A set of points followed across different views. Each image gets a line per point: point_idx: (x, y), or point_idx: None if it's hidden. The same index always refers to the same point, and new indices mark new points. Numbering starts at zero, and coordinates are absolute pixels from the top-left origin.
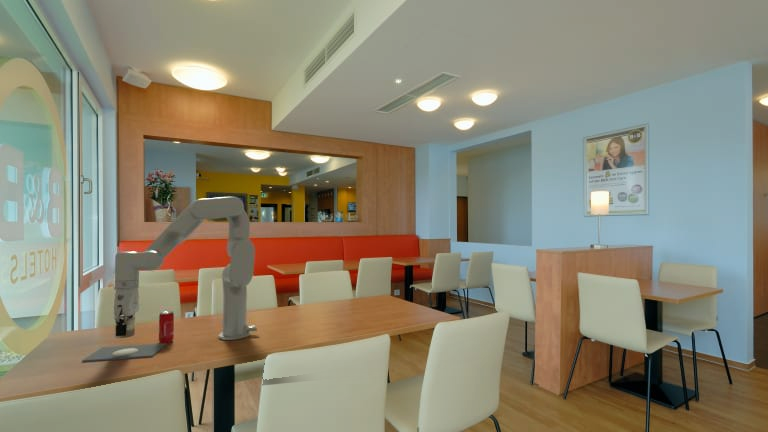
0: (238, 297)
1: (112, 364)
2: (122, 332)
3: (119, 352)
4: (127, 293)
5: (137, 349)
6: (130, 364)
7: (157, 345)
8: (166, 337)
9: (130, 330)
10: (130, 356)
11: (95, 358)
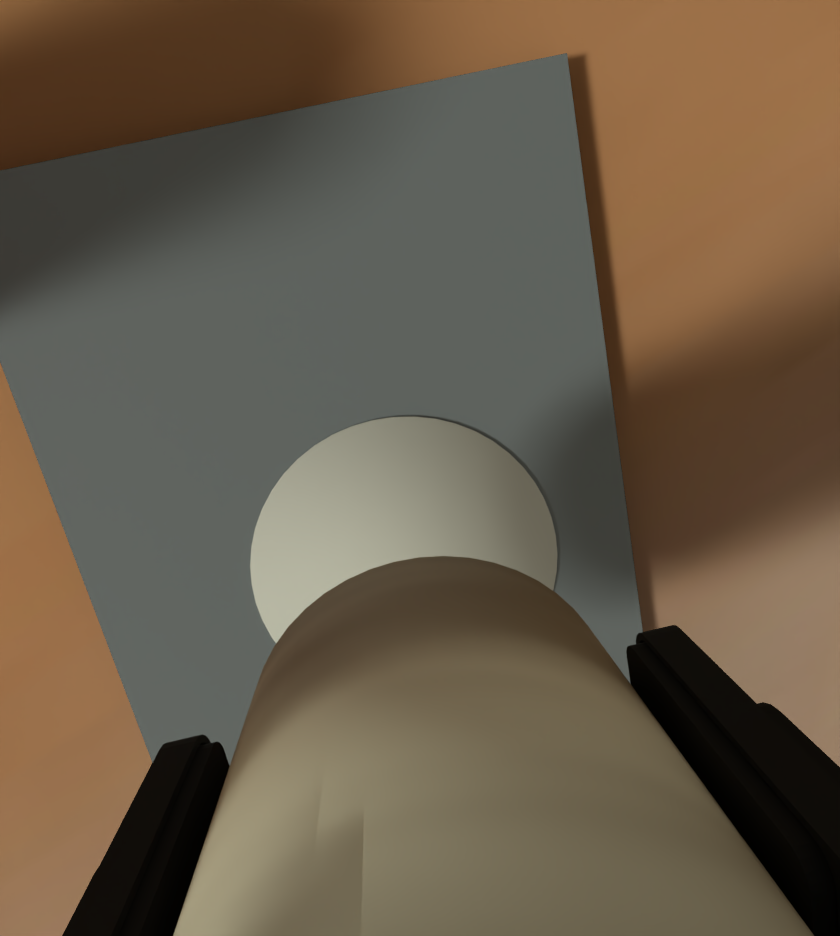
0: None
1: (784, 461)
2: (774, 713)
3: None
4: None
5: (303, 466)
6: (824, 223)
7: (75, 265)
8: None
9: (560, 642)
10: (590, 382)
11: None
